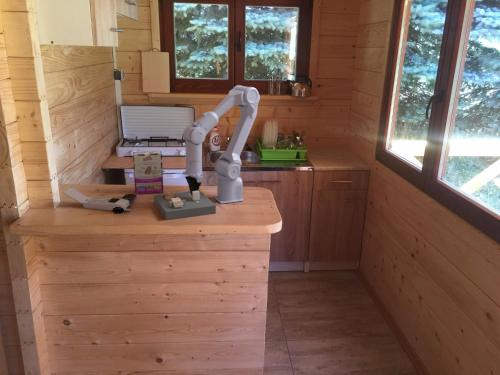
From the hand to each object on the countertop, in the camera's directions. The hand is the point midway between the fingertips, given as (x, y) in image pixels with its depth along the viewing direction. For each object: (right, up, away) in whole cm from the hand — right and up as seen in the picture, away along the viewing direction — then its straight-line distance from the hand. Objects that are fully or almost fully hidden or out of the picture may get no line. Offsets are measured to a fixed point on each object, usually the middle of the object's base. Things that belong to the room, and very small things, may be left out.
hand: (194, 195), depth 155 cm
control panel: (-4, -4, -1) cm, 6 cm away
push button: (-9, -3, +2) cm, 10 cm away
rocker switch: (-5, -2, -8) cm, 10 cm away
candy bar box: (-20, +1, +15) cm, 25 cm away
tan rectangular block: (+1, -1, -2) cm, 2 cm away
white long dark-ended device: (-34, -4, -2) cm, 34 cm away
